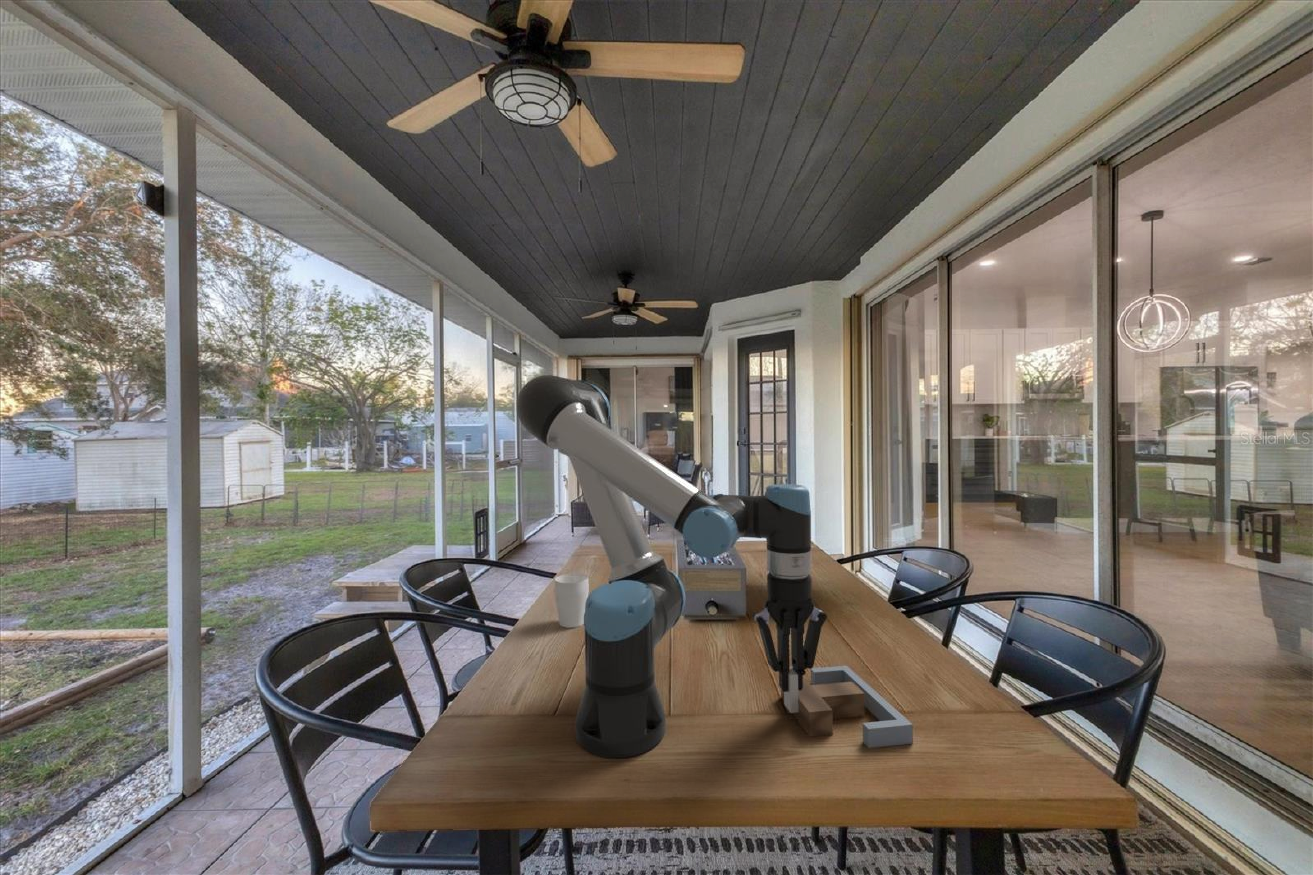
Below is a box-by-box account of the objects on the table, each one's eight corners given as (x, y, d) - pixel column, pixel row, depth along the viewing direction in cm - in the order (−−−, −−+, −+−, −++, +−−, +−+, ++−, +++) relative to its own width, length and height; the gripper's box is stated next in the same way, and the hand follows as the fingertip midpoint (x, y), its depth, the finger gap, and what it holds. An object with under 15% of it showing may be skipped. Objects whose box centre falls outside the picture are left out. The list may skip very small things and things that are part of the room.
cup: (553, 619, 131) (552, 575, 131) (586, 615, 134) (585, 572, 134) (556, 632, 122) (556, 584, 122) (592, 627, 125) (591, 581, 125)
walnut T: (809, 736, 79) (809, 712, 79) (781, 697, 91) (780, 676, 91) (878, 729, 80) (877, 705, 80) (841, 692, 92) (840, 671, 92)
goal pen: (868, 748, 76) (868, 729, 76) (810, 683, 96) (810, 668, 96) (913, 743, 77) (912, 724, 77) (846, 680, 97) (846, 665, 97)
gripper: (760, 581, 80) (763, 724, 80) (834, 577, 81) (837, 717, 81) (746, 569, 87) (748, 700, 87) (814, 565, 89) (816, 693, 89)
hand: (791, 708), depth 84 cm, fingers closed
